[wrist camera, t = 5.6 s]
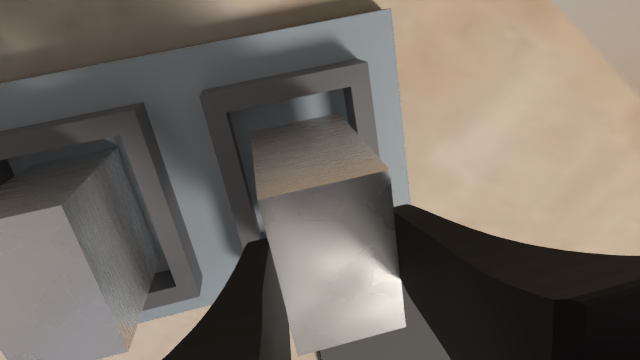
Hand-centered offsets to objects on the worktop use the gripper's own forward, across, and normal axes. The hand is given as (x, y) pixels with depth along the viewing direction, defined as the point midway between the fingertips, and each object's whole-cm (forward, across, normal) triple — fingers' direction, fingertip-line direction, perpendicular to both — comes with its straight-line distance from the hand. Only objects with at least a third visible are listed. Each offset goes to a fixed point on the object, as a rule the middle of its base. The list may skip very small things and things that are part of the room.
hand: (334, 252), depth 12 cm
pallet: (+9, +4, 0) cm, 10 cm away
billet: (+8, +9, 0) cm, 12 cm away
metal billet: (+5, 0, 0) cm, 5 cm away
